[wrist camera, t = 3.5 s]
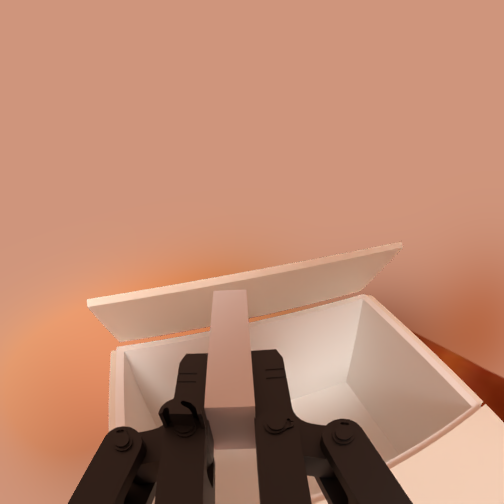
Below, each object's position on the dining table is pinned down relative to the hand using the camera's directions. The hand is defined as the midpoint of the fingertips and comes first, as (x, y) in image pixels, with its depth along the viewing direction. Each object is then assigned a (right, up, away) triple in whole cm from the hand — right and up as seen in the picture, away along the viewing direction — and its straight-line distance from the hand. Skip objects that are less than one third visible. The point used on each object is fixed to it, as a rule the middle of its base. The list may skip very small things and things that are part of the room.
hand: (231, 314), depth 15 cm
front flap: (+1, -1, +13) cm, 13 cm away
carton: (+6, -24, +11) cm, 27 cm away
